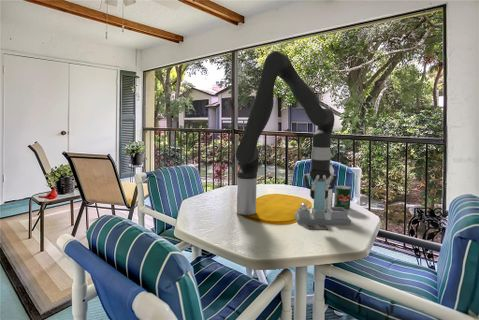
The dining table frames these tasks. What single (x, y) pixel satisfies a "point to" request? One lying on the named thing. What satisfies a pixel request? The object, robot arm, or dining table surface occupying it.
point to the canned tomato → (342, 196)
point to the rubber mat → (316, 227)
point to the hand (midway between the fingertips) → (318, 198)
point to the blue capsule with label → (319, 195)
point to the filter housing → (323, 216)
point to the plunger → (303, 206)
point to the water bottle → (329, 192)
